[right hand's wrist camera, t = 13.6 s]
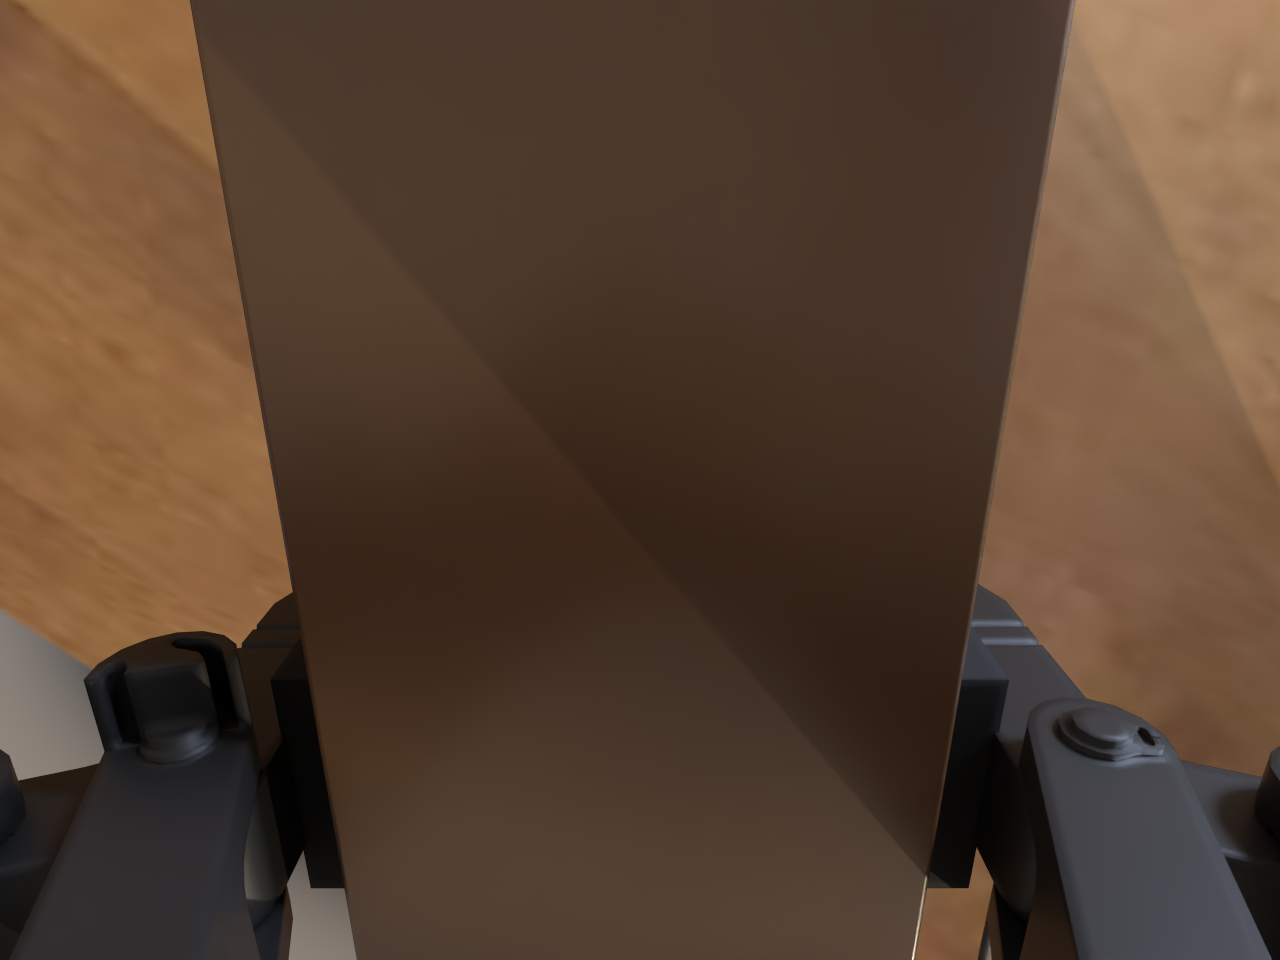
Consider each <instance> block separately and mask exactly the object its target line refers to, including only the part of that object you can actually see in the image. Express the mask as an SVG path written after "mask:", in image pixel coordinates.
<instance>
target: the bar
mask: <svg viewBox="0 0 1280 960" xmlns="http://www.w3.org/2000/svg"><path fill="white" fill-rule="evenodd" d="M190 4H191V10H192V15H193V21H194V27H195V33H196V38H197V44H198V50H199V56H200V61H201V67H202V73H203V79H204V84H205V90H206V96H207V102H208V107H209V113H210V119H211V124H212V130H213V136H214V142H215V147H216V153H217V159H218V165H219V170H220V176H221V182H222V188H223V193H224V199H225V205H226V211H227V216H228V222H229V228H230V234H231V239H232V245H233V251H234V257H235V262H236V268H237V274H238V280H239V285H240V291H241V297H242V302H243V308H244V314H245V320H246V325H247V331H248V337H249V343H250V348H251V354H252V360H253V366H254V371H255V377H256V383H257V389H258V394H259V400H260V406H261V412H262V417H263V423H264V429H265V435H266V440H267V446H268V452H269V458H270V463H271V469H272V475H273V480H274V486H275V492H276V498H277V503H278V509H279V515H280V521H281V526H282V532H283V538H284V544H285V549H286V555H287V561H288V567H289V572H290V578H291V584H292V590H293V595H294V601H295V607H296V613H297V618H298V624H299V630H300V636H301V641H302V647H303V653H304V658H305V664H306V670H307V676H308V681H309V687H310V693H311V699H312V704H313V710H314V716H315V722H316V727H317V733H318V739H319V745H320V750H321V756H322V762H323V768H324V773H325V779H326V785H327V791H328V796H329V802H330V808H331V814H332V819H333V825H334V831H335V836H336V842H337V848H338V854H339V859H340V865H341V871H342V877H343V882H344V888H345V894H346V899H347V905H348V911H349V917H350V923H351V928H352V934H353V939H354V946H355V951H356V957H357V960H915V956H916V950H917V944H918V938H919V932H920V926H921V920H922V914H923V908H924V902H925V896H926V890H927V884H928V878H929V872H930V866H931V860H932V854H933V848H934V842H935V836H936V830H937V824H938V818H939V812H940V807H941V801H942V795H943V789H944V783H945V777H946V771H947V765H948V759H949V753H950V747H951V741H952V735H953V729H954V723H955V717H956V711H957V705H958V699H959V693H960V687H961V681H962V675H963V669H964V663H965V657H966V651H967V645H968V639H969V633H970V627H971V621H972V615H973V609H974V603H975V597H976V591H977V585H978V579H979V573H980V567H981V561H982V555H983V549H984V543H985V537H986V531H987V525H988V519H989V513H990V507H991V501H992V495H993V489H994V483H995V477H996V471H997V465H998V460H999V454H1000V448H1001V442H1002V436H1003V430H1004V424H1005V418H1006V412H1007V406H1008V400H1009V394H1010V388H1011V382H1012V376H1013V370H1014V364H1015V358H1016V352H1017V346H1018V340H1019V334H1020V328H1021V322H1022V316H1023V310H1024V304H1025V298H1026V292H1027V286H1028V280H1029V274H1030V268H1031V262H1032V256H1033V250H1034V244H1035V238H1036V232H1037V226H1038V220H1039V214H1040V208H1041V202H1042V196H1043V190H1044V184H1045V178H1046V172H1047V166H1048V160H1049V154H1050V148H1051V142H1052V136H1053V130H1054V124H1055V118H1056V113H1057V107H1058V101H1059V95H1060V89H1061V83H1062V77H1063V71H1064V65H1065V59H1066V53H1067V47H1068V41H1069V35H1070V29H1071V23H1072V17H1073V11H1074V5H1075V0H190Z"/></svg>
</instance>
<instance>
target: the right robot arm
mask: <svg viewBox="0 0 1280 960" xmlns="http://www.w3.org/2000/svg"><path fill="white" fill-rule="evenodd" d="M84 683H85V687H86V690H87V693H88V697H89V700H90V703H91V707H92V710H93V714H94V717H95V720H96V724H97V727H98V731H99V734H100V737H101V741H102V744H103V748H104V751H105V752H104V754H103V756H102V759H101V761H100V763H98V764H95V765H91V766H87V767H83V768H78V769H74V770H68V771H63V772H59V773H54V774H49V775H44V776H39V777H34V778H30V779H24V780H20V781H18V779H17V776H16V773H15V770H14V768H13V765H12V762H11V759H10V756H9V755H8V754H6V753H5V752H3V751H2V750H1V749H0V960H288V958H289V949H290V940H291V931H292V922H293V916H292V909H291V903H290V898H289V893H288V888H287V882H288V880H289V878H290V876H291V874H292V872H293V870H294V868H295V866H296V864H297V862H298V860H299V858H300V856H301V854H302V852H303V850H304V855H305V860H306V865H307V870H308V876H309V881H310V886H311V888H344V882H343V877H342V871H341V865H340V859H339V854H338V848H337V842H336V836H335V831H334V825H333V819H332V814H331V808H330V802H329V796H328V791H327V785H326V779H325V773H324V768H323V762H322V756H321V750H320V745H319V739H318V733H317V727H316V722H315V716H314V710H313V704H312V699H311V693H310V687H309V681H308V676H307V670H306V664H305V658H304V653H303V647H302V641H301V636H300V630H299V624H298V618H297V613H296V607H295V601H294V595H293V592H292V593H291V594H289V595H287V596H286V597H284V598H283V599H281V600H279V601H278V602H276V603H275V604H274V605H273V606H272V607H271V608H270V610H269V611H268V612H267V613H266V615H265V616H264V617H263V618H262V619H261V621H260V622H259V623H258V624H257V629H256V630H252V632H251V633H250V634H249V635H248V636H247V638H246V639H245V640H244V641H243V643H242V648H238V649H237V645H236V644H235V643H234V642H233V641H231V640H230V639H229V638H227V637H226V636H225V635H221V634H216V633H211V632H205V631H197V632H177V633H173V634H168V635H164V636H159V637H155V638H150V639H147V640H145V641H142V642H139V643H137V644H134V645H132V646H129V647H127V648H124V649H122V650H120V651H118V652H117V653H115V654H113V655H112V656H110V657H109V658H107V659H105V660H104V661H102V662H101V663H99V664H98V665H97V666H96V667H95V668H94V669H93V670H92V671H91V672H90V673H89V675H88V676H87V677H86V678H85V679H84ZM976 847H977V849H978V851H979V853H980V855H981V857H982V859H983V861H984V863H985V865H986V867H987V869H988V871H989V873H990V875H991V877H992V879H993V881H994V883H993V888H992V893H991V898H990V902H989V907H988V912H987V917H986V921H985V926H984V931H983V936H982V940H981V945H980V950H979V956H978V960H990V958H991V956H992V960H1280V746H1279V747H1277V748H1276V749H1275V750H1273V751H1272V752H1271V754H1270V757H1269V760H1268V763H1267V765H1266V768H1265V771H1264V774H1263V777H1259V776H1254V775H1249V774H1244V773H1239V772H1234V771H1229V770H1225V769H1220V768H1215V767H1210V766H1205V765H1200V764H1195V763H1191V762H1188V761H1184V760H1180V759H1179V757H1178V755H1177V753H1176V751H1175V749H1174V748H1173V747H1172V745H1171V744H1170V743H1169V741H1168V740H1167V739H1166V738H1165V736H1164V735H1163V734H1162V733H1161V732H1160V731H1158V730H1157V729H1156V728H1154V727H1153V726H1151V725H1150V724H1149V723H1147V722H1146V721H1145V720H1143V719H1142V718H1140V717H1138V716H1136V715H1134V714H1131V713H1129V712H1127V711H1125V710H1123V709H1120V708H1118V707H1116V706H1114V705H1110V704H1106V703H1102V702H1098V701H1094V700H1090V699H1086V697H1085V696H1084V695H1083V694H1082V693H1081V691H1080V690H1079V689H1078V688H1077V687H1076V685H1075V684H1074V683H1073V682H1072V681H1071V679H1070V678H1069V677H1068V676H1067V675H1066V673H1065V672H1064V671H1063V670H1062V668H1061V667H1060V666H1059V665H1058V664H1057V662H1056V661H1055V660H1054V659H1053V658H1052V656H1051V655H1050V654H1049V653H1048V652H1047V650H1046V649H1045V648H1044V647H1043V646H1042V645H1039V644H1038V639H1037V638H1036V637H1035V636H1034V635H1033V633H1032V632H1031V631H1030V630H1029V629H1028V627H1024V626H1023V621H1022V620H1021V619H1020V618H1019V616H1018V615H1017V614H1016V613H1015V612H1014V610H1013V609H1012V608H1011V607H1010V606H1009V604H1008V603H1007V602H1006V601H1005V600H1003V599H1002V598H1000V597H999V596H997V595H995V594H994V593H992V592H990V591H989V590H987V589H986V588H984V587H982V586H981V585H979V584H978V585H977V591H976V597H975V603H974V609H973V615H972V621H971V627H970V633H969V639H968V645H967V651H966V657H965V663H964V669H963V675H962V681H961V687H960V693H959V699H958V705H957V711H956V717H955V723H954V729H953V735H952V741H951V747H950V753H949V759H948V765H947V771H946V777H945V783H944V789H943V795H942V801H941V807H940V812H939V818H938V824H937V830H936V836H935V842H934V848H933V854H932V860H931V866H930V872H929V878H928V884H927V888H969V883H970V878H971V873H972V868H973V863H974V857H975V852H976Z"/></svg>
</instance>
